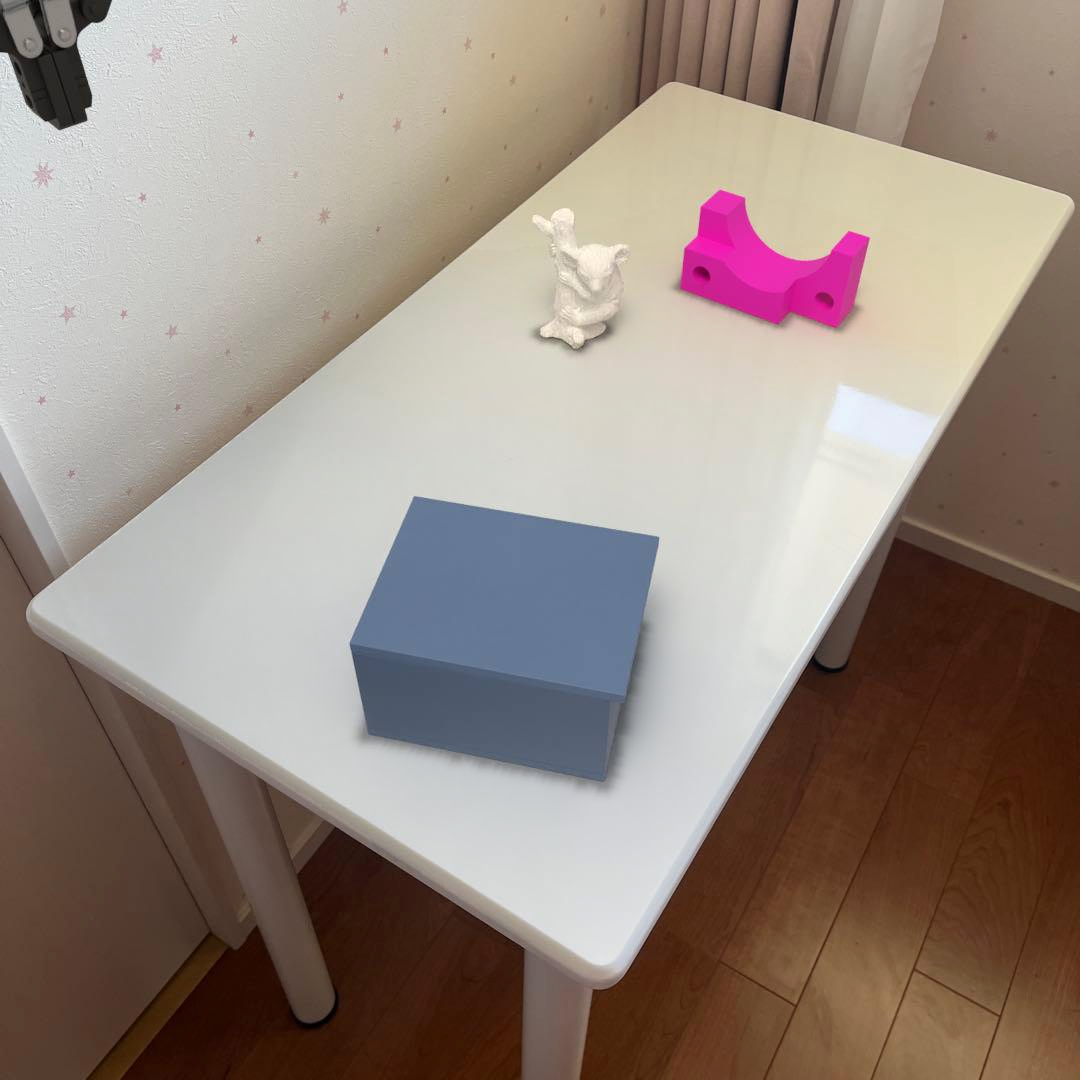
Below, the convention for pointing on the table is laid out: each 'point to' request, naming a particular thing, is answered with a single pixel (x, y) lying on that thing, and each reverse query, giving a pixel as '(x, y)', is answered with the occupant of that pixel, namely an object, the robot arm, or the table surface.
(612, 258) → the koala figurine
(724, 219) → the magenta pillow block
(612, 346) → the table surface
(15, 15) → the robot arm
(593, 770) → the blue box
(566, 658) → the box lid
